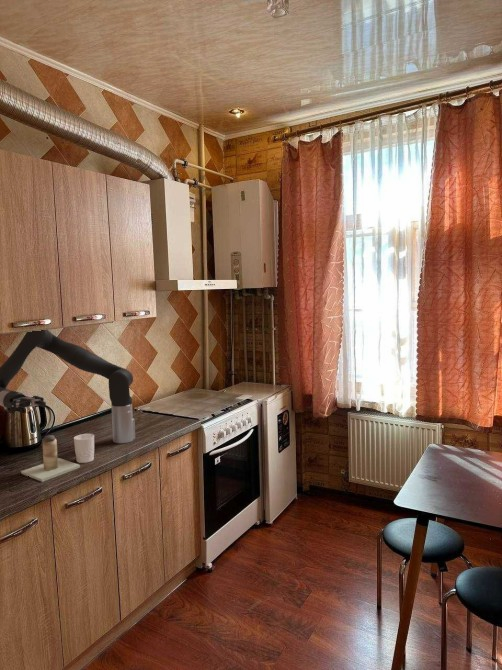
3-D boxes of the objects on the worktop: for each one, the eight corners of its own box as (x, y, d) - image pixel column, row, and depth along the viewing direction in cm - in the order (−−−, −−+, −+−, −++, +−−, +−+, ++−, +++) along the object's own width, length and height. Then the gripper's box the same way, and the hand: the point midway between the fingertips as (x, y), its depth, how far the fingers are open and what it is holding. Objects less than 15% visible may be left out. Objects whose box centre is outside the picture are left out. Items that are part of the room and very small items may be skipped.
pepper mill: (53, 464, 179) (51, 433, 178) (60, 467, 176) (59, 436, 175) (41, 468, 175) (39, 437, 174) (48, 471, 172) (47, 439, 171)
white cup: (71, 460, 186) (70, 436, 185) (90, 455, 192) (89, 432, 191) (80, 465, 180) (78, 441, 179) (98, 460, 186) (97, 436, 185)
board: (59, 460, 186) (59, 458, 186) (80, 467, 178) (80, 464, 178) (21, 473, 173) (21, 471, 173) (42, 481, 165) (42, 479, 165)
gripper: (-7, 395, 181) (17, 403, 173) (26, 386, 193) (50, 394, 185) (-5, 413, 183) (19, 422, 175) (27, 403, 195) (51, 411, 187)
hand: (35, 407), depth 180 cm, fingers open, 8 cm apart
